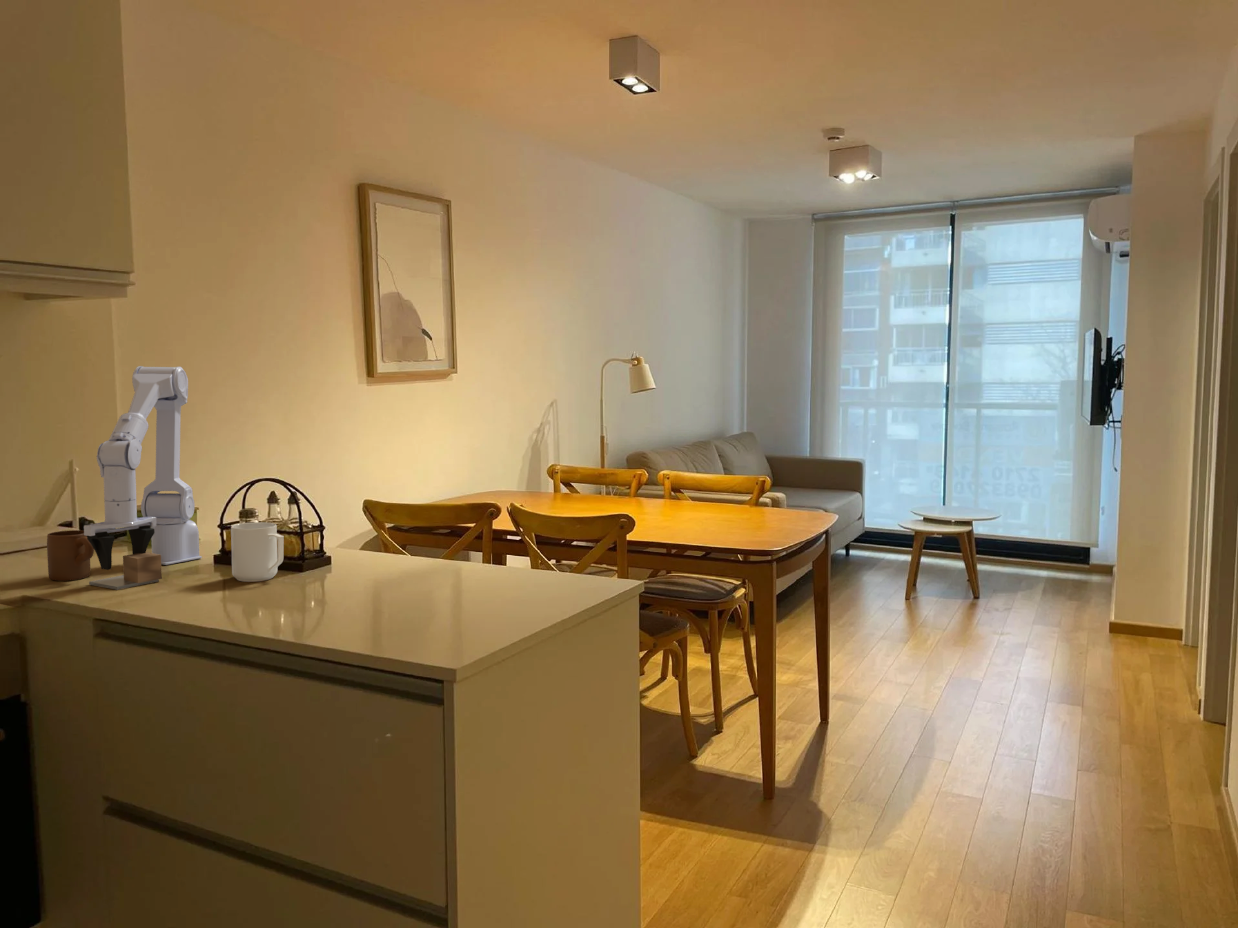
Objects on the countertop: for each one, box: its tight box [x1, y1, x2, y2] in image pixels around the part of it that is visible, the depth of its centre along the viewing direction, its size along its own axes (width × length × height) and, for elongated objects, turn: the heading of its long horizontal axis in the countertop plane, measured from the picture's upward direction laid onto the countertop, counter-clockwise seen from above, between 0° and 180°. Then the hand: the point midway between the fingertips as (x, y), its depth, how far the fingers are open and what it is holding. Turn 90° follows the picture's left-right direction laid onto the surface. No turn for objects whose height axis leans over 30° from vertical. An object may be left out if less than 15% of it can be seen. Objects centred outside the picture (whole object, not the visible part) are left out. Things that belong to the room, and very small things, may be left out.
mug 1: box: [46, 529, 95, 582], centre depth 191 cm, size 12×8×9 cm, turn 60°
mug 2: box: [230, 521, 285, 583], centre depth 193 cm, size 12×9×11 cm
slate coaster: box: [88, 574, 160, 591], centre depth 188 cm, size 9×9×1 cm
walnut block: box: [122, 551, 162, 583], centre depth 189 cm, size 5×5×5 cm
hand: (122, 566), depth 188 cm, fingers open, 6 cm apart
